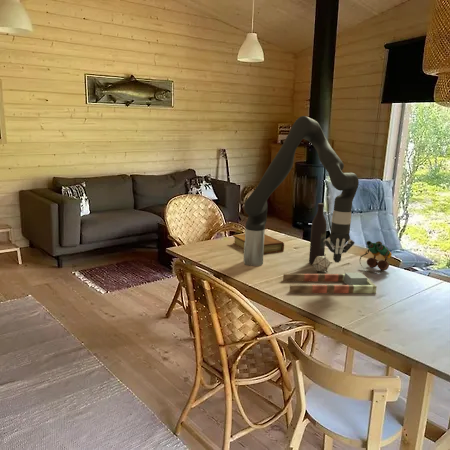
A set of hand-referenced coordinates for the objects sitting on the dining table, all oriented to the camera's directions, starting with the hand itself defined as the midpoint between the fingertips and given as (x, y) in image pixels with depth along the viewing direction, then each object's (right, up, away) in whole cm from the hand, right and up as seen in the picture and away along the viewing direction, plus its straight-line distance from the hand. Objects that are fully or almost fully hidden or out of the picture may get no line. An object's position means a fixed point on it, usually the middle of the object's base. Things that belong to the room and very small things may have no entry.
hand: (336, 261), depth 185 cm
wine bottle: (-2, -4, +33) cm, 33 cm away
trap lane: (-3, -11, +3) cm, 11 cm away
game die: (-2, -7, +21) cm, 22 cm away
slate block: (+9, -10, +6) cm, 15 cm away
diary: (-29, +2, +58) cm, 65 cm away
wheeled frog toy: (+26, -6, +27) cm, 38 cm away
